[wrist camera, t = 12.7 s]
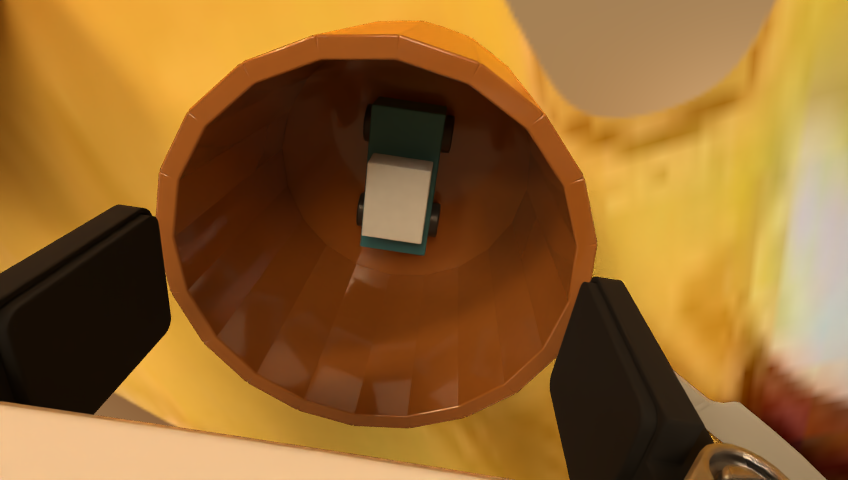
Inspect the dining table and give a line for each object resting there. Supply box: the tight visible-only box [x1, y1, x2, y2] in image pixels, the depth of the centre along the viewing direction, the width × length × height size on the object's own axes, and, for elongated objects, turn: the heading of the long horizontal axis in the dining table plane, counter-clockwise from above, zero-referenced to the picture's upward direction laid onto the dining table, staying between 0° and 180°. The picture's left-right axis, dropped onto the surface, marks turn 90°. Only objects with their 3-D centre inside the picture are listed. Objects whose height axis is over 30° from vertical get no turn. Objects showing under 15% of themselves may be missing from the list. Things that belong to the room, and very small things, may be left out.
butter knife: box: [673, 370, 826, 480], centre depth 25 cm, size 1×24×3 cm
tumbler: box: [156, 21, 597, 428], centre depth 16 cm, size 11×11×9 cm
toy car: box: [356, 96, 455, 256], centre depth 18 cm, size 6×3×3 cm, turn 172°
